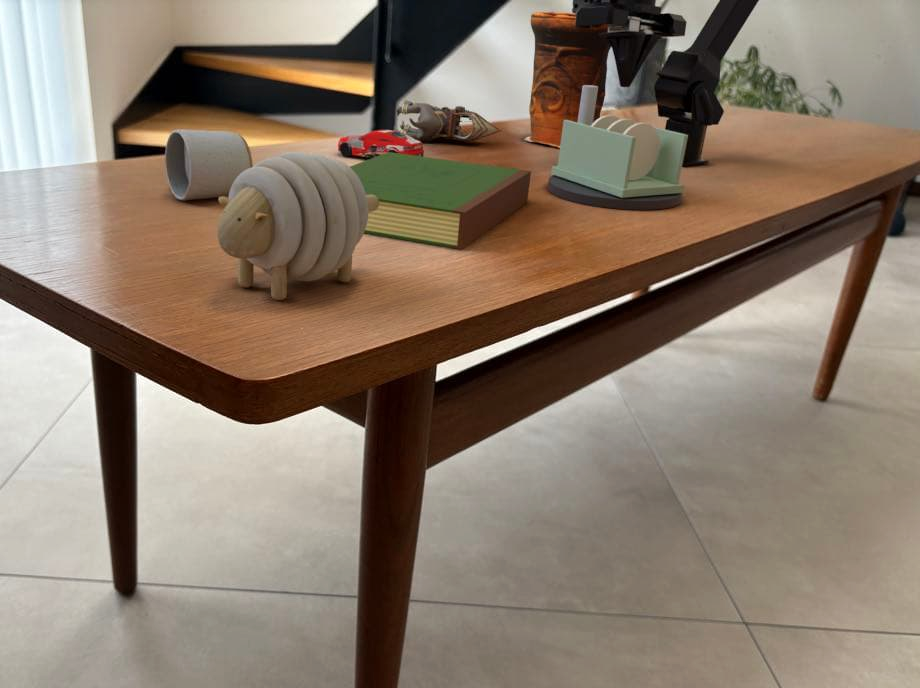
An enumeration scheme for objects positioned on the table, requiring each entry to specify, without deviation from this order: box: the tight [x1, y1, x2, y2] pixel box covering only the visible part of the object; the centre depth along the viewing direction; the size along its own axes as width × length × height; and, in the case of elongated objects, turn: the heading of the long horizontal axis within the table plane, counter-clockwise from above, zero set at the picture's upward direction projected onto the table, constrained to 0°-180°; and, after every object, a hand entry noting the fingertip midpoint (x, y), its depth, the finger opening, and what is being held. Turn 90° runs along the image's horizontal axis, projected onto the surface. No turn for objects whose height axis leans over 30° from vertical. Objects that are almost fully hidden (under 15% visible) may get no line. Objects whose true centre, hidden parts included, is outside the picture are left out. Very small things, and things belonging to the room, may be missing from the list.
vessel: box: [524, 11, 612, 149], centre depth 145 cm, size 14×14×20 cm
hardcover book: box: [349, 152, 532, 250], centre depth 101 cm, size 25×19×4 cm
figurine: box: [393, 99, 502, 143], centre depth 144 cm, size 20×6×17 cm
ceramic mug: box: [164, 128, 254, 201], centre depth 102 cm, size 11×8×8 cm
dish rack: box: [550, 85, 688, 198], centre depth 112 cm, size 16×10×11 cm, turn 28°
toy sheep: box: [216, 150, 379, 301], centre depth 74 cm, size 11×17×11 cm, turn 140°
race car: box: [337, 129, 425, 159], centre depth 127 cm, size 13×5×4 cm, turn 60°
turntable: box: [547, 174, 683, 211], centre depth 114 cm, size 17×17×1 cm
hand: (624, 87), depth 126 cm, fingers closed
